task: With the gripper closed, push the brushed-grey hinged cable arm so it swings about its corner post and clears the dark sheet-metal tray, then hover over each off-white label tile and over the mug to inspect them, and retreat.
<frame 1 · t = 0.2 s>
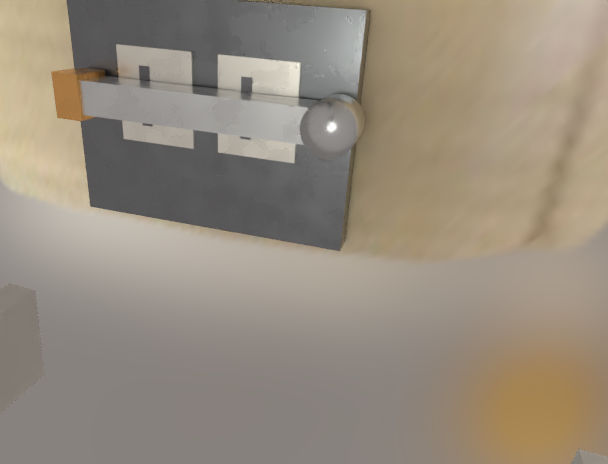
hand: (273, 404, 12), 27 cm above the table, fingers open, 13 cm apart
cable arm: (204, 109, 34), point 4 cm above the table, hinge at 0.0°
chassis: (218, 118, 39), on the table
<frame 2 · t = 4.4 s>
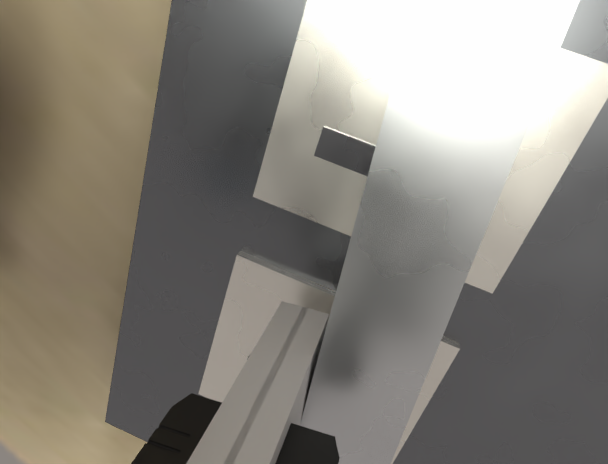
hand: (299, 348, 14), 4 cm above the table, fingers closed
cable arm: (391, 293, 12), point 4 cm above the table, hinge at 5.8°, touching gripper
chassis: (412, 258, 16), on the table
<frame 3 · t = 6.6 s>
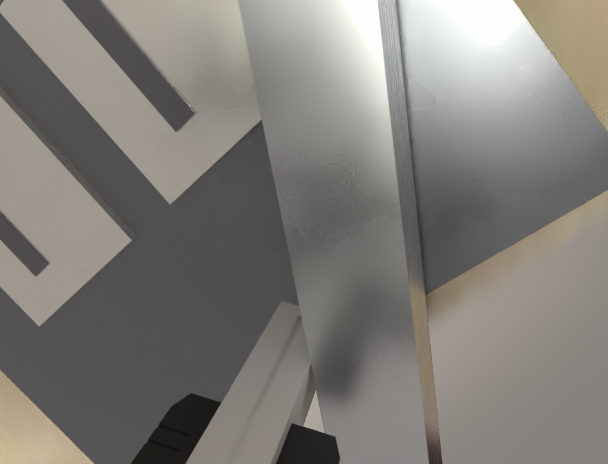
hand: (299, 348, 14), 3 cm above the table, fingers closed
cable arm: (361, 270, 12), point 4 cm above the table, hinge at 58.6°, touching gripper
chassis: (146, 153, 17), on the table
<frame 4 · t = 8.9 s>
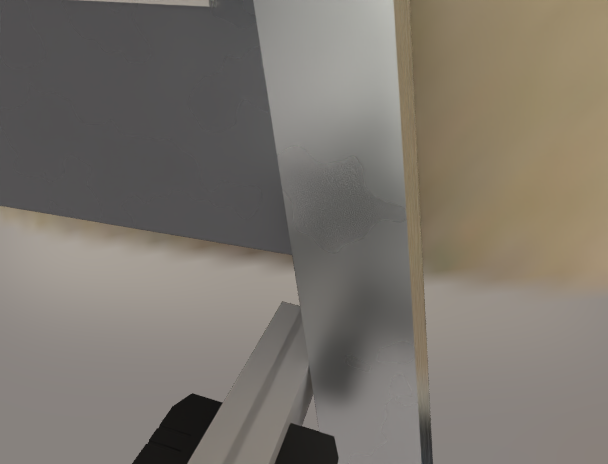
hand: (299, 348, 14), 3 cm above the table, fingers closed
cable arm: (363, 272, 12), point 4 cm above the table, hinge at 100.4°, touching gripper
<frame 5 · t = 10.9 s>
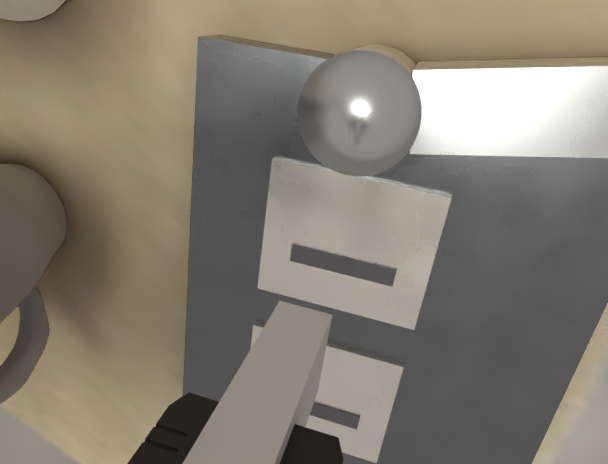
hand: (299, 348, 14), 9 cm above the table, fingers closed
mug: (41, 235, 28), on the table
chassis: (370, 309, 24), on the table
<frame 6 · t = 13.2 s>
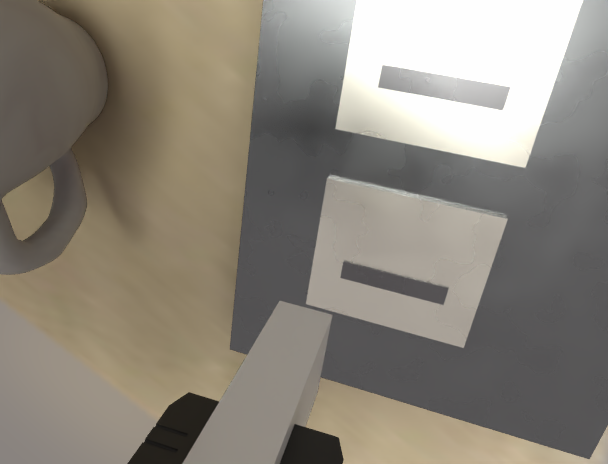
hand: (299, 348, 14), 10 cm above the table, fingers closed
mug: (77, 105, 25), on the table
chassis: (460, 166, 21), on the table
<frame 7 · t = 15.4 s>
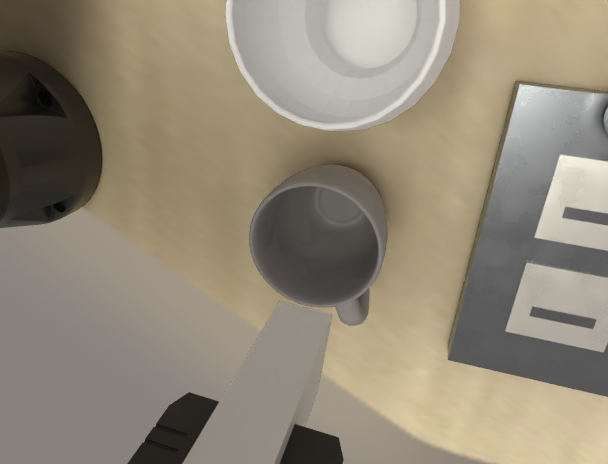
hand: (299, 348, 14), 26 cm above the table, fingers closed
mug: (348, 216, 41), on the table
cup: (375, 17, 34), on the table
chassis: (597, 250, 36), on the table
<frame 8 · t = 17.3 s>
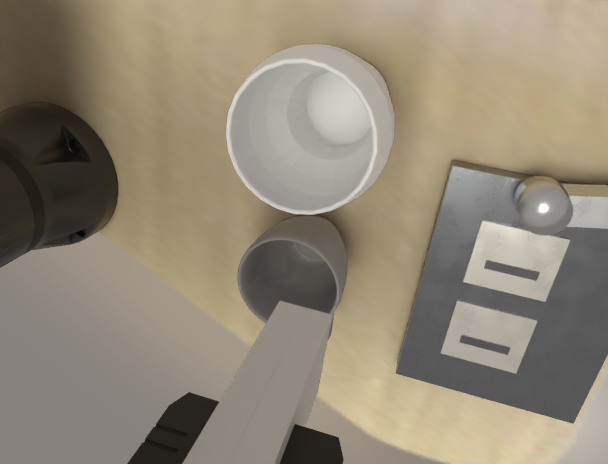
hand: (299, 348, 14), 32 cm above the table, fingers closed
mug: (320, 253, 50), on the table
cup: (345, 102, 43), on the table
chassis: (514, 292, 46), on the table
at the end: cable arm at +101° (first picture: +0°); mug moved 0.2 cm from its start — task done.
